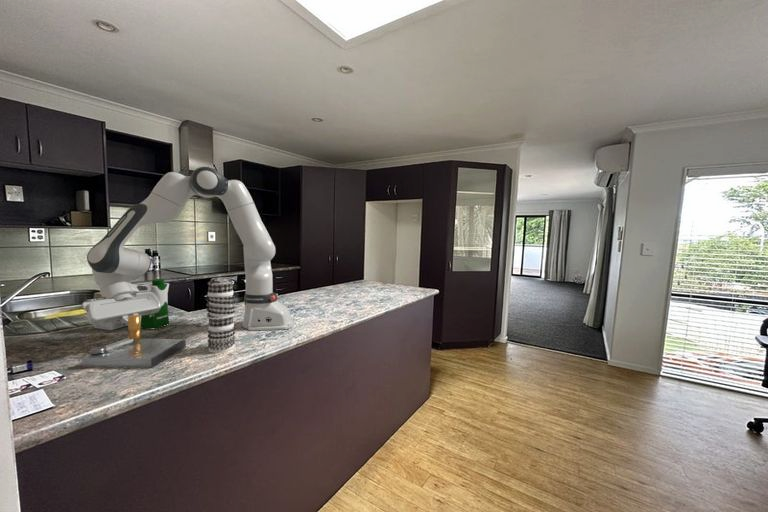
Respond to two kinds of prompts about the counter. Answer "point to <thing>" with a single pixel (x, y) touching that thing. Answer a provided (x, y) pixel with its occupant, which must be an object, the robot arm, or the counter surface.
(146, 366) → the grey lever board
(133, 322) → the lever
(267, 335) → the counter surface
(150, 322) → the milk carton
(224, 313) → the decorative candle
